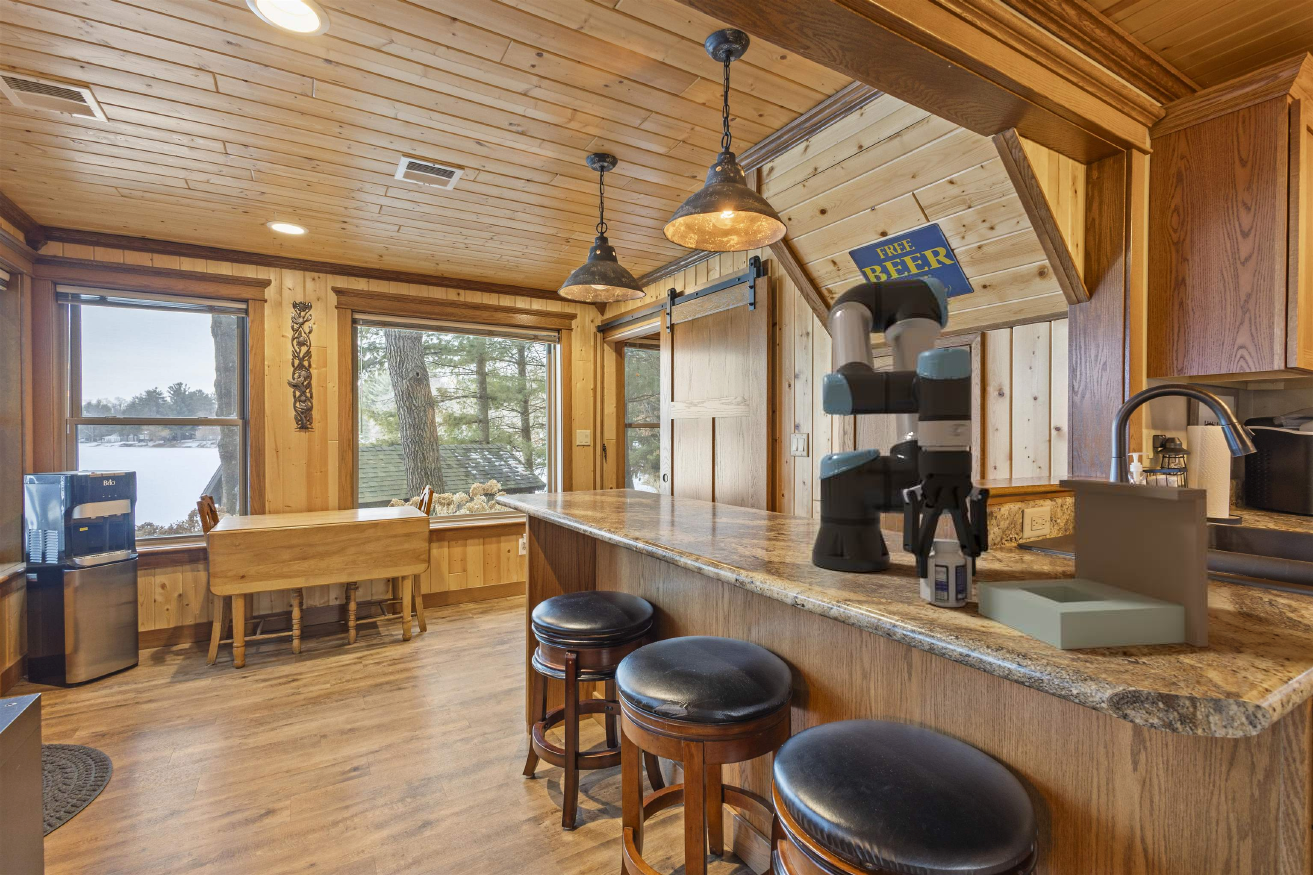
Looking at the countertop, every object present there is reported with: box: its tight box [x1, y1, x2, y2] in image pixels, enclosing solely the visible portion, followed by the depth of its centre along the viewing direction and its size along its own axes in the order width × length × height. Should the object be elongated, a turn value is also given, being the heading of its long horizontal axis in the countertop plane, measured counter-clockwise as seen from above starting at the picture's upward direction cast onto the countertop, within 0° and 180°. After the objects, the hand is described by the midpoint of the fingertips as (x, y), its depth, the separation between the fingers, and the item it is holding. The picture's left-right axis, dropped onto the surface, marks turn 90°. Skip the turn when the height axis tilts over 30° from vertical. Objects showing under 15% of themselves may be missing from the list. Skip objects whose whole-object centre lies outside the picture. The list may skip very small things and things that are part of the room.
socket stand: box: [977, 478, 1209, 651], centre depth 80 cm, size 18×18×19 cm
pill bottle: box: [927, 538, 967, 608], centre depth 91 cm, size 5×5×10 cm
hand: (945, 597), depth 91 cm, fingers closed on pill bottle, 5 cm apart
